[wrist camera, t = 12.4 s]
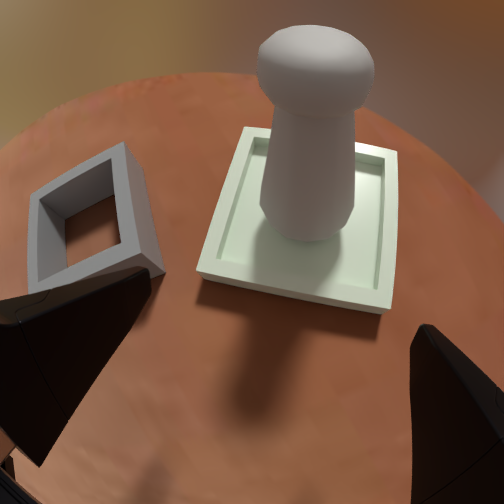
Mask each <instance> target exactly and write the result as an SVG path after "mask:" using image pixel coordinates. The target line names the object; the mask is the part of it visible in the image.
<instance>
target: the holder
mask: <svg viewBox="0 0 504 504" xmlns="http://www.w3.org/2000/svg"><path fill="white" fill-rule="evenodd" d="M114 194H115V201H116V210H117V217H118V224H119V231H120V238H121V243H120V244H117V245H115V246H113V247H111V248H109V249H106V250H104V251H102V252H100V253H98V254H96V255H93V256H91V257H89V258H87V259H85V260H83V261H81V262H79V263H77V264H74V265H72V266H70V267H68V268H67V258H66V241H65V220H66V219H67V218H69V217H71V216H73V215H75V214H77V213H78V212H80V211H82V210H84V209H86V208H88V207H90V206H92V205H94V204H96V203H98V202H100V201H102V200H104V199H106V198H108V197H110V196H112V195H114ZM134 266H142V267H146V268H148V269H149V271H150V279H151V278H154V277H157V276H159V275H162V274H164V273H166V272H165V268H164V264H163V260H162V256H161V252H160V248H159V244H158V239H157V235H156V231H155V226H154V222H153V217H152V212H151V208H150V203H149V198H148V193H147V188H146V182H145V177H144V172H143V169H142V167H141V166H140V164H139V163H138V162H137V160H136V159H135V157H134V156H133V154H132V153H131V151H130V150H129V148H128V147H127V145H126V144H125V142H124V141H123V142H121V143H119V144H117V145H115V146H113V147H111V148H109V149H107V150H105V151H103V152H101V153H100V154H98V155H96V156H94V157H92V158H90V159H88V160H87V161H85V162H83V163H81V164H80V165H78V166H76V167H74V168H73V169H71V170H69V171H67V172H66V173H64V174H62V175H61V176H59V177H57V178H56V179H54V180H53V181H51V182H49V183H48V184H46V185H45V186H43V187H42V188H40V189H39V190H37V191H35V192H34V193H32V194H31V197H30V208H29V222H28V249H27V267H28V294H32V293H36V292H40V291H44V290H47V289H52V288H55V287H59V286H62V285H66V284H70V283H74V282H77V281H81V280H85V279H89V278H92V277H96V276H100V275H104V274H107V273H111V272H115V271H119V270H123V269H127V268H131V267H134Z"/></svg>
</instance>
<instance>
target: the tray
mask: <svg viewBox="0 0 504 504" xmlns="http://www.w3.org/2000/svg"><path fill="white" fill-rule="evenodd" d="M270 134H271V129H265V128H254V127H244V130H243V132H242V135H241V138H240V140H239V143H238V146H237V149H236V151H235V154H234V157H233V160H232V163H231V165H230V168H229V171H228V174H227V177H226V180H225V183H224V186H223V188H222V191H221V194H220V197H219V200H218V203H217V206H216V209H215V212H214V215H213V218H212V221H211V224H210V227H209V231H208V234H207V237H206V240H205V243H204V246H203V249H202V253H201V256H200V259H199V262H198V265H197V269H196V271H197V272H198V273H199V274H200V275H201V276H202V278H203V279H206V280H210V281H215V282H219V283H224V284H228V285H233V286H237V287H242V288H247V289H251V290H256V291H261V292H265V293H270V294H275V295H280V296H285V297H290V298H295V299H300V300H305V301H310V302H315V303H321V304H326V305H331V306H336V307H342V308H347V309H353V310H358V311H364V312H370V313H376V314H381V315H382V314H383V313H385V312H387V311H388V310H390V309H391V303H392V295H393V285H394V275H395V263H396V248H397V227H398V165H397V151H394V150H389V149H385V148H381V147H376V146H372V145H367V144H362V143H357V142H355V201H354V208H353V211H352V213H351V215H350V217H349V219H348V221H347V224H346V225H345V226H344V227H343V228H342V229H340V230H339V231H338V232H337V233H335V234H334V235H333V236H331V237H330V238H329V239H325V240H318V241H313V242H304V241H299V240H292V239H288V238H286V237H285V236H283V235H282V234H281V233H280V232H278V231H277V230H276V229H275V228H273V227H272V226H271V225H270V224H269V222H268V220H267V218H266V216H265V214H264V212H263V210H262V209H261V207H260V205H259V203H260V192H261V184H262V178H263V173H264V168H265V163H266V158H267V153H268V146H269V140H270Z"/></svg>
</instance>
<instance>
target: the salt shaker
mask: <svg viewBox="0 0 504 504" xmlns="http://www.w3.org/2000/svg"><path fill="white" fill-rule="evenodd" d="M257 77H258V81H259V85H260V87H261V89H262V90H263V92H264V93H265V94H266V96H267V97H268V98H269V99H270V101H271V102H272V103H273V104H274V105H275V108H274V115H273V121H272V127H271V134H270V140H269V146H268V153H267V158H266V163H265V168H264V173H263V178H262V184H261V192H260V203H259V205H260V207H261V209H262V210H263V212H264V214H265V216H266V218H267V220H268V222H269V224H270V225H271V226H272V227H273V228H275V229H276V230H277V231H278V232H280V233H281V234H282V235H283V236H285V237H286V238H288V239H292V240H299V241H304V242H313V241H318V240H325V239H329V238H330V237H331V236H333V235H334V234H335V233H337V232H338V231H339V230H340V229H342V228H343V227H344V226H345V225H346V224H347V221H348V219H349V217H350V215H351V213H352V211H353V208H354V201H355V117H354V111H355V110H357V109H359V108H361V106H362V105H363V104H364V102H365V100H366V98H367V96H368V94H369V92H370V90H371V87H372V84H373V80H374V62H373V60H372V58H371V56H370V54H369V51H368V50H367V49H366V47H365V46H364V45H363V44H362V43H361V42H360V41H358V40H357V39H356V38H354V37H353V36H352V35H350V34H348V33H345V32H343V31H340V30H337V29H334V28H331V27H324V26H317V25H303V26H292V27H289V28H286V29H283V30H279V31H277V32H276V33H274V34H273V35H272V36H271V37H270V38H268V39H267V40H266V41H265V42H264V43H263V44H262V45H260V48H259V54H258V63H257Z"/></svg>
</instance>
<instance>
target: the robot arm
mask: <svg viewBox="0 0 504 504" xmlns="http://www.w3.org/2000/svg"><path fill="white" fill-rule="evenodd" d="M150 294H151V279H150V271H149V269H148V268H146V267H142V266H134V267H131V268H127V269H123V270H119V271H115V272H111V273H107V274H104V275H100V276H96V277H92V278H89V279H85V280H81V281H77V282H74V283H70V284H66V285H62V286H59V287H55V288H52V289H47V290H44V291H40V292H36V293H32V294H28V295H24V296H19V297H15V298H10V299H5V300H1V301H0V504H42V503H41V502H39V501H38V500H37V499H36V498H34V497H33V496H32V495H31V494H30V493H29V492H27V491H26V490H25V489H24V488H23V487H22V486H21V485H20V484H18V483H17V482H16V480H15V472H14V464H13V458H12V457H11V456H10V454H11V452H12V451H13V450H14V449H15V448H17V449H18V450H19V451H20V452H21V453H22V454H23V455H24V456H26V457H27V458H28V459H29V460H30V461H31V462H33V463H34V464H35V465H36V466H38V467H40V466H41V465H42V464H43V462H44V460H45V459H46V457H47V455H48V454H49V452H50V450H51V449H52V447H53V445H54V444H55V442H56V440H57V439H58V437H59V436H60V434H61V432H62V431H63V429H64V428H65V426H66V424H67V423H68V420H69V419H70V418H71V416H72V415H73V413H74V412H75V410H76V408H77V407H78V405H79V404H80V402H81V401H82V399H83V398H84V396H85V395H86V393H87V392H88V390H89V389H90V387H91V386H92V384H93V383H94V381H95V380H96V378H97V377H98V375H99V374H100V372H101V371H102V369H103V368H104V367H105V365H106V364H107V362H108V361H109V359H110V358H111V356H112V355H113V354H114V352H115V351H116V349H117V348H118V346H119V345H120V344H121V342H122V341H123V339H124V338H125V337H126V335H127V334H128V332H129V331H130V329H131V328H132V326H133V325H134V323H135V321H136V319H137V318H138V316H139V314H140V312H141V310H142V309H143V307H144V305H145V304H146V302H147V300H148V298H149V297H150ZM410 404H411V421H412V490H411V504H504V392H503V391H502V390H501V389H500V388H499V387H497V385H496V384H495V383H494V382H493V381H492V380H491V379H490V378H489V377H488V376H487V375H486V374H485V373H484V372H483V371H482V370H481V369H480V368H479V367H478V366H477V365H475V364H474V363H473V362H472V361H471V360H470V359H469V358H468V357H467V356H466V355H465V354H464V353H463V352H462V351H461V350H460V349H459V348H458V347H456V346H455V345H454V344H453V343H452V342H451V341H450V340H449V339H448V338H447V337H446V336H444V335H443V334H442V333H441V332H440V331H439V330H438V329H437V328H436V327H434V326H433V325H430V324H421V325H420V326H419V328H418V330H417V332H416V335H415V337H414V339H413V341H412V343H411V346H410Z"/></svg>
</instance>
